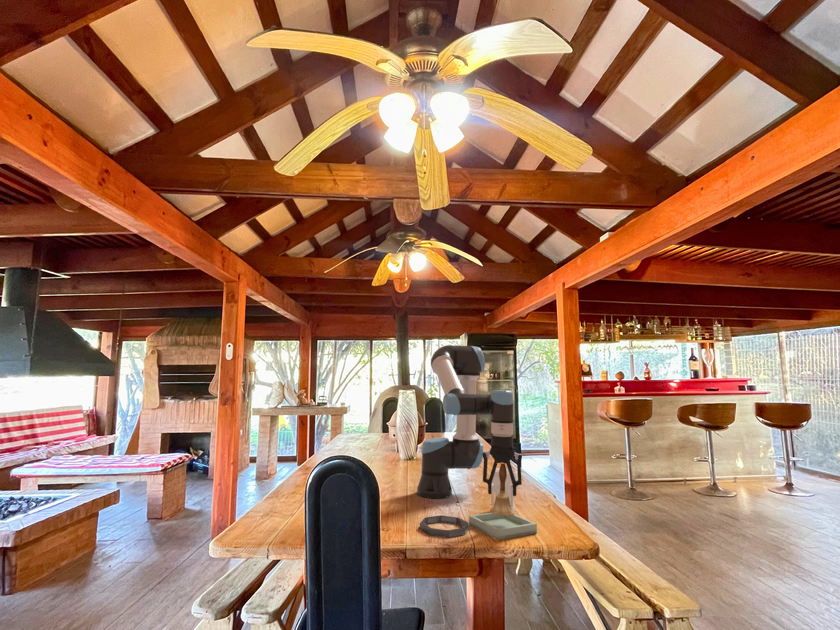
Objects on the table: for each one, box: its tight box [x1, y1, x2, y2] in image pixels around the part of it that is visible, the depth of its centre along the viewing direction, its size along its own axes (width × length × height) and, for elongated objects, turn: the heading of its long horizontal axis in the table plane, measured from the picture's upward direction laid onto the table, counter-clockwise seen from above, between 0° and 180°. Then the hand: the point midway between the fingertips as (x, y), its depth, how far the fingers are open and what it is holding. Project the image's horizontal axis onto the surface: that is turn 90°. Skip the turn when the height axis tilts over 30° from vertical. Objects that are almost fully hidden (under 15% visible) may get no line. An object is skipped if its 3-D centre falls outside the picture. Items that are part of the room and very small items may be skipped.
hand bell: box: [489, 463, 516, 516], centre depth 152 cm, size 8×8×16 cm
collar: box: [419, 515, 470, 538], centre depth 149 cm, size 15×15×2 cm
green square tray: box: [468, 512, 538, 541], centre depth 150 cm, size 16×16×3 cm
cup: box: [492, 467, 520, 513], centre depth 171 cm, size 11×11×15 cm
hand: (502, 504), depth 151 cm, fingers closed on hand bell, 6 cm apart
